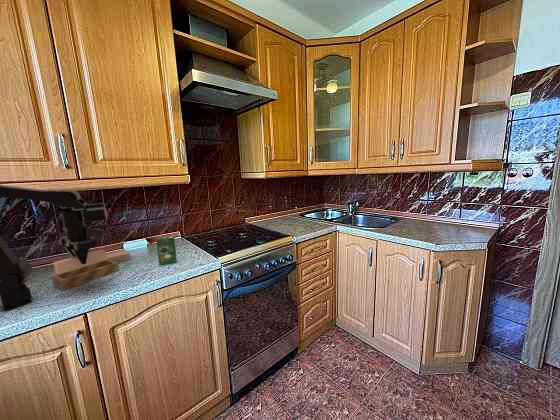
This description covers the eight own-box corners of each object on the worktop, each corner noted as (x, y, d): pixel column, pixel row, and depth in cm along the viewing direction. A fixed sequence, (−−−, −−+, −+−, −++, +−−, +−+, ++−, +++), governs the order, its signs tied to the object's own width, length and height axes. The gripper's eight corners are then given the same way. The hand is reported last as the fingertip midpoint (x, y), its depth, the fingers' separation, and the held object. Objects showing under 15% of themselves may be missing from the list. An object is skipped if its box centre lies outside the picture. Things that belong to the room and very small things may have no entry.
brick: (129, 256, 127) (128, 248, 126) (131, 260, 121) (130, 251, 120) (91, 264, 117) (89, 256, 117) (91, 270, 111) (89, 260, 110)
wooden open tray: (63, 290, 91) (61, 281, 90) (53, 284, 96) (50, 275, 96) (119, 270, 108) (118, 262, 107) (107, 266, 113) (106, 258, 113)
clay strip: (59, 274, 82) (56, 263, 82) (55, 272, 84) (53, 262, 84) (107, 259, 95) (105, 250, 94) (103, 258, 97) (101, 249, 96)
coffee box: (177, 260, 117) (174, 235, 115) (177, 262, 114) (173, 237, 112) (160, 263, 114) (156, 237, 112) (159, 265, 112) (155, 239, 110)
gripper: (110, 221, 89) (117, 259, 91) (89, 217, 98) (95, 252, 101) (73, 227, 79) (82, 270, 82) (54, 223, 89) (62, 262, 92)
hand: (82, 263), depth 89 cm, fingers closed on clay strip, 3 cm apart
